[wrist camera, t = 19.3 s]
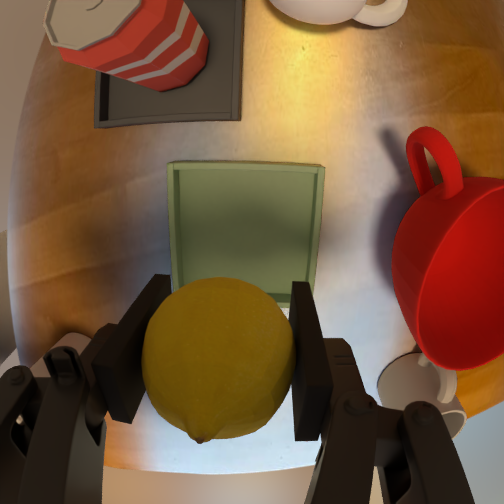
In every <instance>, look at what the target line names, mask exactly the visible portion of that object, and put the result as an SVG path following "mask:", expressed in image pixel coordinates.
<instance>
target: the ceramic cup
mask: <svg viewBox="0 0 504 504" xmlns="http://www.w3.org/2000/svg"><path fill="white" fill-rule="evenodd" d="M424 147H425V148H426V149H427V150H428V151H429V152H430V154H431V155H432V156H433V158H434V160H435V161H436V163H437V165H438V167H439V169H440V172H441V174H442V178H443V183H440V184H438V185H436V186H435V184H434V182H433V179H432V176H431V173H430V170H429V167H428V163H427V160H426V156H425V152H424ZM406 153H407V158H408V162H409V165H410V168H411V171H412V174H413V177H414V180H415V183H416V185H417V188H418V191H419V193H420V197H419V198H418V199H417V200H416V201H415V202H414V203H413V205H412V206H411V207H410V208H409V210H408V211H407V212H406V214H405V216H404V217H403V219H402V221H401V223H400V225H399V228H398V230H397V233H396V236H395V239H394V244H393V250H392V277H393V284H394V290H395V294H396V297H397V300H398V303H399V305H400V308H401V311H402V314H403V316H404V319H405V321H406V323H407V325H408V327H409V329H410V331H411V333H412V335H413V337H414V339H415V341H416V343H417V344H418V346H419V347H420V349H421V350H422V352H423V353H424V355H425V356H426V357H427V358H428V359H429V360H430V361H431V362H433V363H434V364H435V365H437V366H439V367H442V368H444V369H447V370H457V371H461V370H468V369H473V368H476V367H479V366H482V365H484V364H486V363H488V362H490V361H492V360H494V359H496V358H497V357H499V356H500V355H502V354H503V353H504V180H503V179H497V178H489V177H462V172H461V167H460V164H459V161H458V158H457V156H456V153H455V151H454V149H453V148H452V146H451V144H450V143H449V142H448V140H447V139H446V138H445V137H444V136H443V135H442V134H441V133H440V132H439V131H437V130H436V129H434V128H432V127H427V126H425V127H420V128H418V129H416V130H415V131H413V132H412V133H411V134H410V135H409V137H408V139H407V143H406Z"/></svg>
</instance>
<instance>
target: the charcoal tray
mask: <svg viewBox="0 0 504 504" xmlns="http://www.w3.org/2000/svg"><path fill="white" fill-rule="evenodd" d="M183 1H184V2H185V4H186V5H187V7H188V8H189V10H190V11H191V13H192V14H193V16H194V18H195V19H196V21H197V22H198V24H199V25H200V27H201V28H202V30H203V32H204V33H205V35H206V36H207V38H208V40H209V44H208V50H207V56H206V63H205V66H204V67H203V68H202V69H201V70H200V71H199V72H198V73H197V74H196V75H195V76H194V77H193V78H192V79H191V80H190V81H189V82H188V83H187V84H186V85H183V86H180V87H176V88H172V89H169V90H166V91H162V92H159V91H156V90H153V89H151V88H148V87H145V86H142V85H139V84H136V83H133V82H130V81H127V80H124V79H122V78H119V77H116V76H113V75H110V74H106V73H103V72H100V71H97V70H96V81H95V103H94V128H112V127H121V126H131V125H142V124H155V123H171V122H194V121H241V89H242V58H243V31H244V6H245V0H183Z"/></svg>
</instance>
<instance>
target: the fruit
mask: <svg viewBox="0 0 504 504" xmlns="http://www.w3.org/2000/svg"><path fill="white" fill-rule="evenodd" d="M295 365H296V345H295V340H294V336H293V331H292V328H291V326H290V323H289V321H288V319H287V318H286V316H285V315H284V313H283V312H282V310H281V309H280V307H279V306H278V304H277V303H276V301H275V300H274V299H273V298H272V297H271V296H269V295H268V294H267V293H265V292H264V291H263V290H261V289H260V288H259V287H257V286H255V285H253V284H250V283H248V282H245V281H242V280H240V279H237V278H228V277H213V278H206V279H199V280H195V281H193V282H191V283H189V284H187V285H184V286H183V287H181V288H180V289H178V290H177V291H175V292H174V293H172V294H171V295H169V296H168V297H167V298H166V299H165V300H164V301H163V302H162V304H161V305H160V306H159V308H158V309H157V310H156V312H155V313H154V315H153V316H152V317H151V319H150V320H149V324H148V327H147V330H146V333H145V338H144V343H143V348H142V357H141V366H142V375H143V380H144V384H145V388H146V391H147V394H148V396H149V399H150V401H151V404H152V405H153V406H154V408H155V409H156V411H157V412H158V414H159V415H160V416H161V417H163V418H164V419H165V420H166V421H167V422H169V423H170V424H171V425H173V426H175V427H177V428H179V429H181V430H183V431H185V432H187V434H188V435H189V437H190V438H191V439H193V440H195V441H196V442H197V443H198V444H202V443H203V442H208V441H210V440H211V439H228V438H235V437H240V436H244V435H247V434H250V433H253V432H255V431H257V430H258V429H260V428H261V427H263V426H264V425H266V424H267V422H268V421H269V420H270V419H271V417H272V416H273V415H274V414H275V412H276V411H277V410H278V408H279V407H280V406H281V404H282V403H283V401H284V399H285V397H286V395H287V393H288V391H289V389H290V386H291V382H292V379H293V375H294V370H295Z"/></svg>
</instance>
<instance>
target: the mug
mask: <svg viewBox="0 0 504 504" xmlns="http://www.w3.org/2000/svg"><path fill="white" fill-rule="evenodd" d="M269 1H270V2H271V3H272V4H273V5H274V6H275V7H276V8H277V9H279V10H280V11H282V12H283V13H284V14H286V15H288V16H290V17H292V18H294V19H297V20H299V21H303V22H306V23H311V24H320V25H330V24H337V23H341V22H344V21H347V20H349V19H351V18H352V19H354V20H356V21H358V22H360V23H363V24H367V25H371V26H387V25H390V24H392V23H394V22H396V21H397V20H398V19H399V18H400V17H401V16H402V15H403V14H404V11H405V9H406V7H407V3H408V0H386V1H385V2H384V3H383V4H380V5H377V6H370V5H366V4H365V3H366V1H367V0H269Z"/></svg>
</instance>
